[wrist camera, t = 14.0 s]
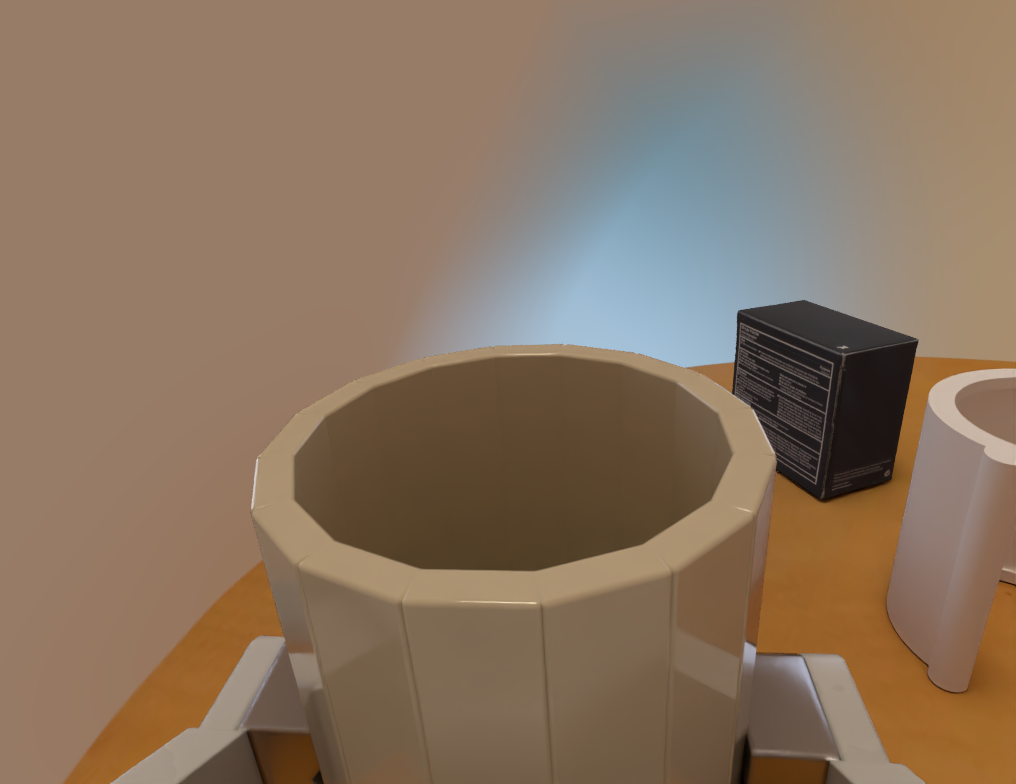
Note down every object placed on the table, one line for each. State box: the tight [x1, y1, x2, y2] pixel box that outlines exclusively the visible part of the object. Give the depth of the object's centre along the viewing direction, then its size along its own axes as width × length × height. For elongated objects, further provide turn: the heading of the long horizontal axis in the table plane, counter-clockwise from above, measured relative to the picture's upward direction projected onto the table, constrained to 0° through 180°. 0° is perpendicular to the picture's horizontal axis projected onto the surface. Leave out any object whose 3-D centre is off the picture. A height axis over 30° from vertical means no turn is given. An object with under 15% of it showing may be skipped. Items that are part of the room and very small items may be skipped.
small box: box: [732, 300, 918, 499], centre depth 48 cm, size 11×6×10 cm, turn 19°
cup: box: [250, 344, 777, 784], centre depth 9 cm, size 5×5×10 cm
